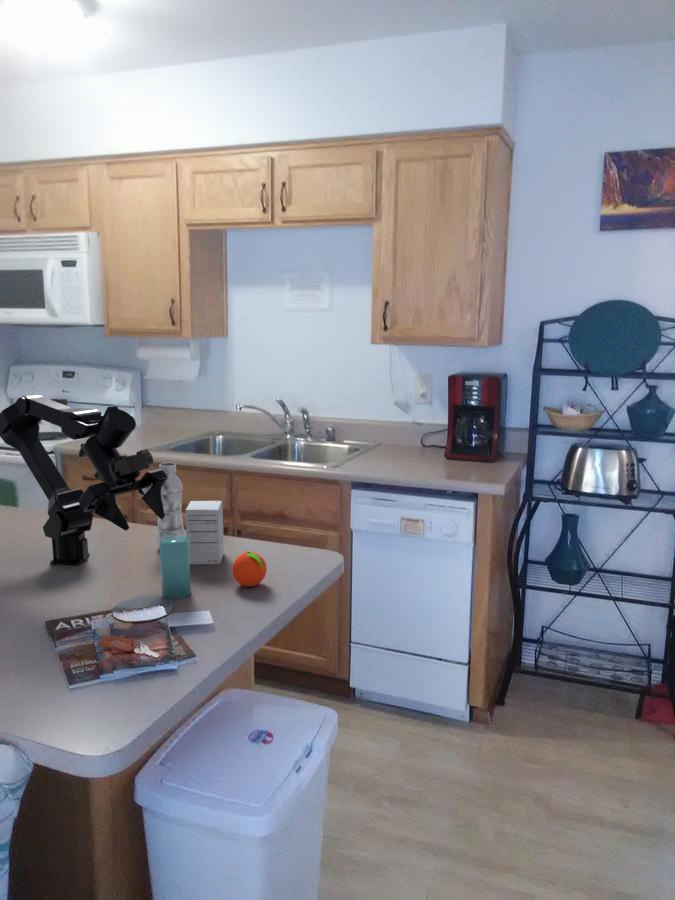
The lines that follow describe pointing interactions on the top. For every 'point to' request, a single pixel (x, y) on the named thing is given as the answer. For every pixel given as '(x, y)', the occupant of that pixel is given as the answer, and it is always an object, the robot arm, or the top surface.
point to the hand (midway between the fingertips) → (145, 523)
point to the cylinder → (175, 567)
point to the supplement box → (205, 532)
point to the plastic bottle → (171, 504)
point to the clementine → (249, 569)
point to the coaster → (144, 603)
